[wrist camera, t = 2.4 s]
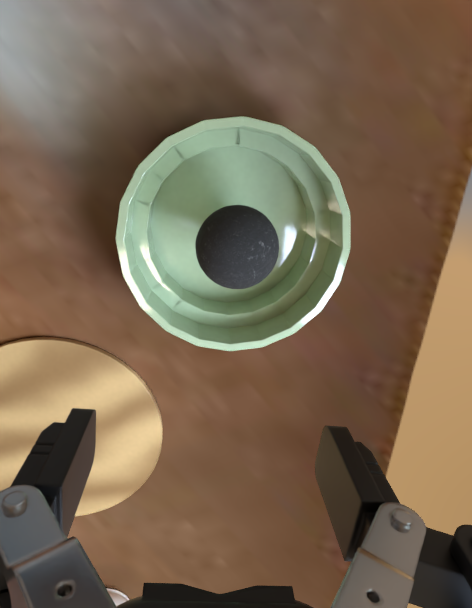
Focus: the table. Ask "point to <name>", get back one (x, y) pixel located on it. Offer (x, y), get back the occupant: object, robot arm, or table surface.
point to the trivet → (85, 395)
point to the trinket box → (117, 596)
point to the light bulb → (237, 247)
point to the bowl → (225, 192)
